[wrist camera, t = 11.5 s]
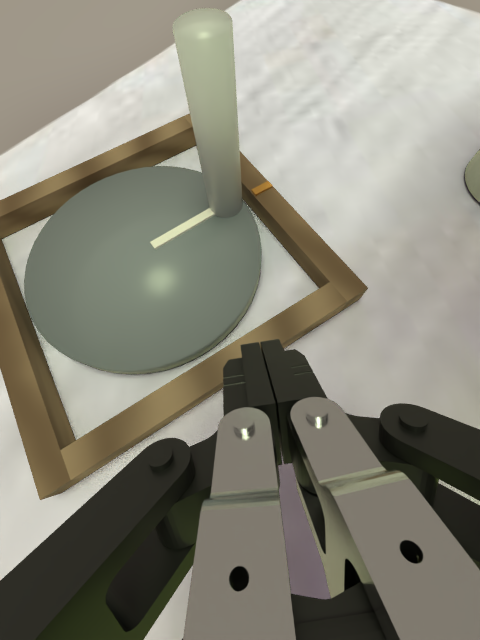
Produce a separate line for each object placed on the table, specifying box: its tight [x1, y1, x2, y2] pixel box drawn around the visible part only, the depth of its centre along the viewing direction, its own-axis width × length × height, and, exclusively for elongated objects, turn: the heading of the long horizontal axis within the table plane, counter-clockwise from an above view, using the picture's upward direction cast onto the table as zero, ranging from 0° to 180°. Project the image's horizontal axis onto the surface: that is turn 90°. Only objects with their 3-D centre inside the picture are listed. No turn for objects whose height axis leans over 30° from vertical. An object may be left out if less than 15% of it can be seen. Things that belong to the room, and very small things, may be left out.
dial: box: [24, 8, 261, 374], centre depth 19 cm, size 20×20×14 cm
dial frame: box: [0, 114, 368, 500], centre depth 24 cm, size 26×26×2 cm
